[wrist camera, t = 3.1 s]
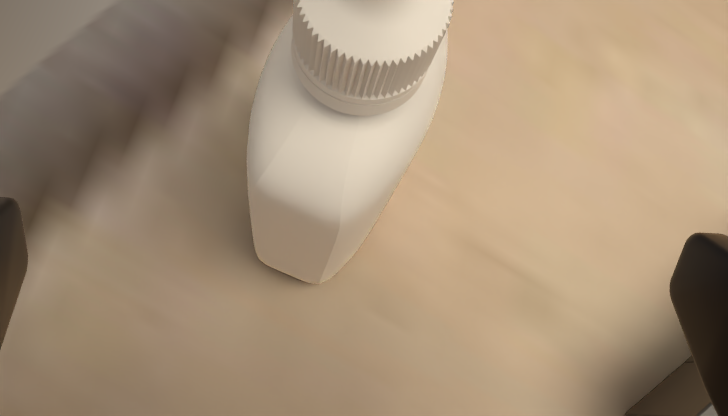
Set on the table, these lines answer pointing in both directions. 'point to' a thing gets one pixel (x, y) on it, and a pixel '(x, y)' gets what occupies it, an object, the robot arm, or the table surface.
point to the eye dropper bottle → (339, 125)
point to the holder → (677, 396)
